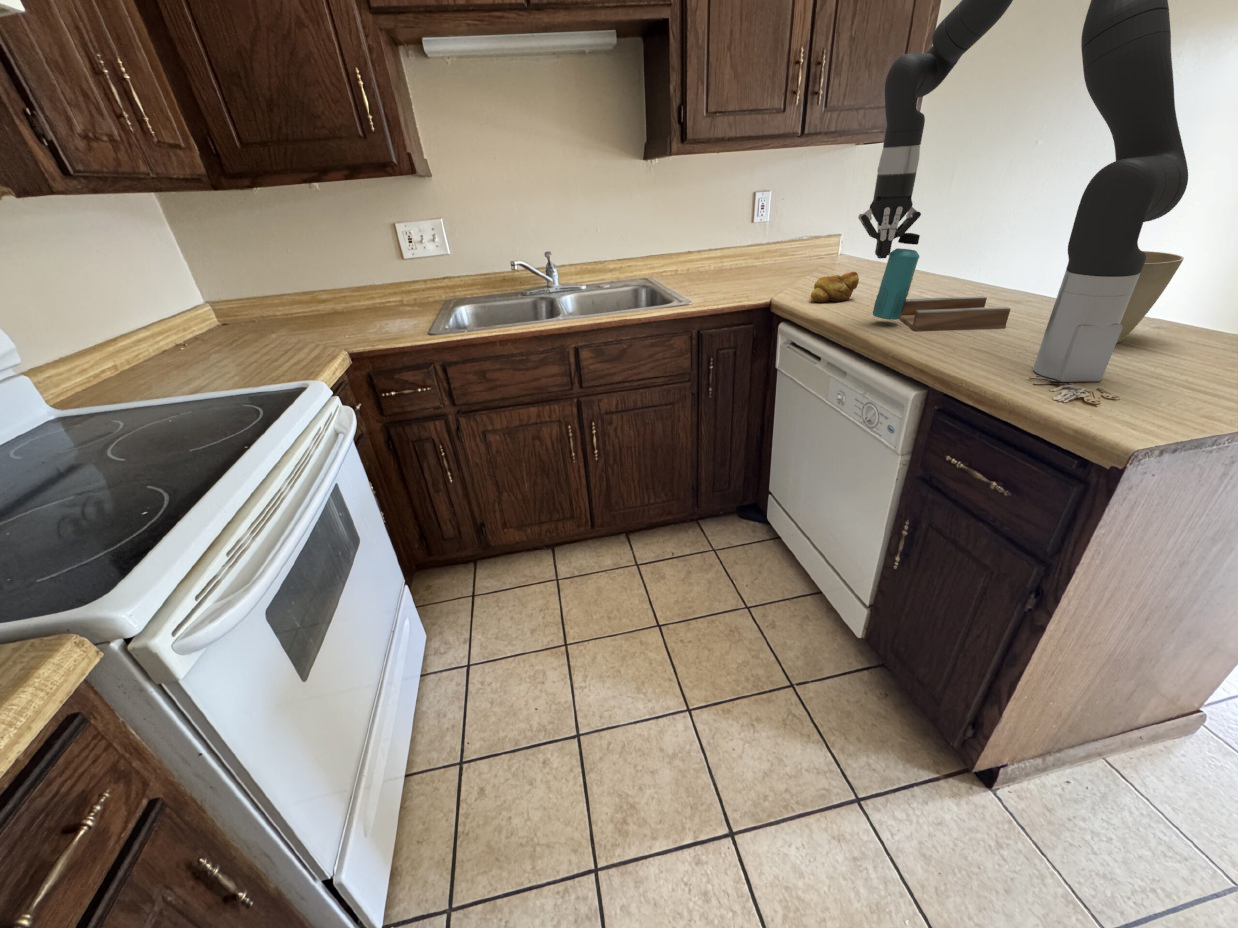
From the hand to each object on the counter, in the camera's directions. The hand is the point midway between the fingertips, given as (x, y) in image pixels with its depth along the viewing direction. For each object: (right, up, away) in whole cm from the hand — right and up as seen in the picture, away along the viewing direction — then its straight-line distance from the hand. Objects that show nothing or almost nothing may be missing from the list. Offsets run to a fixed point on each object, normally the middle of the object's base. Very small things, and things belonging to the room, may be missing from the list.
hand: (881, 257), depth 119 cm
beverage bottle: (+4, -13, +7) cm, 15 cm away
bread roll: (+1, 0, +32) cm, 32 cm away
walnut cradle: (+18, -14, +5) cm, 23 cm away
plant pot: (+38, -22, -12) cm, 46 cm away
